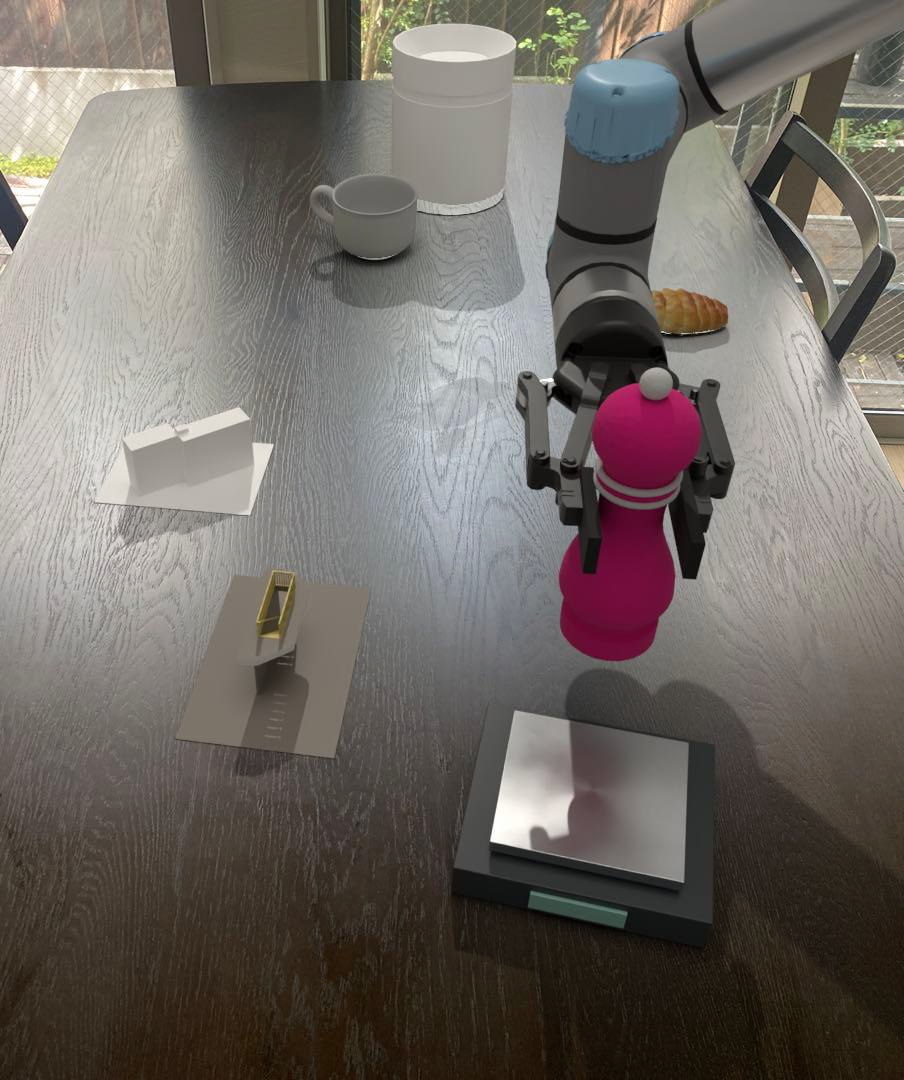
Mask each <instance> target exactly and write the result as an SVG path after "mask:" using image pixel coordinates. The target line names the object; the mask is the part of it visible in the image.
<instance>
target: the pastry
mask: <svg viewBox="0 0 904 1080" xmlns="http://www.w3.org/2000/svg"><path fill="white" fill-rule="evenodd" d="M651 292H652V298H653V302H654V305H655V309H656V313H657V317H658V321H659V325H660V330H661V331H664V332H666V333H674V334H675V335H676V334H677V335H679V334H681V333H693V332H694V333H695V332H703V331H708V330H710V331H711V330H716V329H719V328H721V327H723V326H725V325H726V326H727V325H728V323H729V312H728V311H729V309H728V306H727V305H726V304H724V302H722V301H720V300H718V299H716V298H709V296H708V295H704V294H699V293H697V292H695V291H692V292H689V291H687V290H685V289H684V288H681V287H679V288H678V289H676V290H675V289H672V288H668V287H663V288H662V289H661V290H660V291H659V290H655V289H653V290H651ZM726 326H725V327H726ZM721 329H722V328H721ZM719 330H720V329H719ZM674 334H673V335H674Z"/></svg>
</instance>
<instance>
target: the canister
mask: <svg viewBox="0 0 904 1080" xmlns="http://www.w3.org/2000/svg"><path fill="white" fill-rule="evenodd" d="M517 42H518V41H517V40H516V39H515V38H514V37H513V35H511V34H509V33H508V32H505V31H503V30H500V29H497V28H493V27H490V26H485V25H478V24H471V23H437V24H436V23H435V24H427V25H422V26H415V27H413V28H410V29H407V30H403V31H402V32H400V33H398V34H397V35H396V36H394V38H393V41H392V60H391V61H392V64H391V65H392V66H391V67H392V69H391V71H392V72H391V73H392V74H391V76H392V85H391V161H390V162H391V163H390V164H391V167H390V168H391V170H390V171H391V173H390V175H393V176H397V177H400V178H403V179H405V180H407V181H409V182H410V183H412V184H413V185H414V186H415V187H416V189H417V191H418V199H419V200H424V201H428V202H432V203H438V204H446V205H459V204H470V203H474V202H478V201H482V200H486V199H487V198H490V197H492V196H494V195H496V194H498V193H499V192H500V191H501V189H503V187H504V185H505V186H506V177H507V176H506V175H507V166H508V165H507V163H508V152H509V151H508V150H509V140H510V127H511V115H512V114H511V113H512V101H513V89H514V85H513V83H514V77H515V76H514V75H515V65H516V54H517V53H516V52H517Z"/></svg>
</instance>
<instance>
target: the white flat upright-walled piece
mask: <svg viewBox="0 0 904 1080" xmlns="http://www.w3.org/2000/svg"><path fill="white" fill-rule="evenodd" d="M121 441H122V447H121V449H120V451H119V453H118V455H117V457H116V459H115V461H114V463H113V465H112V467H111V468H110V471H109V473H108V475H107V477H106V478H105V480H104V482H103V485H102V486H101V488H100V490H99V492H98V494H97V496H96V498H95V500H94V503H99V504H100V503H101V504H111V505H123V506H132V507H133V506H134V507H135V506H136V507H146V508H157V509H158V508H159V509H170V510H182V511H193V512H205V513H216V514H228V515H237V516H238V515H239V516H251V514H252V511H253V508H254V505H255V502H256V499H257V496H258V493H259V490H260V488H261V485H262V481H263V478H264V477H265V476H264V475H265V472H266V469H267V467H268V464H269V461H270V457H271V455H272V452H273V448H274V446H275V444H274V443H265V442H253V434H252V424H251V418H250V417H249V416H248V415H247V414H246V413H245V412H244V410H242V408H240V407H239V406H237V407H235V408H231V409H229V410H225V411H222V412H221V413H217V414H214V415H211V416H208V417H204V418H202V419H198V420H196V421H193V422H190V423H182V424H180V425H179V424H178V425H175V426H173V427H172V426H171V425H170V424H169V423H168V422H167V423H164V424H161V425H157V426H154V427H151V428H147V429H145V430H142V431H140V432H129V433H128V435H127V436H124V437H121Z"/></svg>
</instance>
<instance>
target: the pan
mask: <svg viewBox="0 0 904 1080" xmlns="http://www.w3.org/2000/svg"><path fill="white" fill-rule="evenodd" d="M688 756H689V743H687V742H681V741H676V740H671V739H665V738H660V737H654V736H649V735H644V734H638V733H633V732H628V731H622V730H617V729H612V728H606V727H601V726H596V725H590V724H585V723H580V722H574V721H569V720H564V719H558V718H553V717H548V716H542V715H537V714H532V713H526V712H521V711H516V710H515V711H514V715H513V720H512V726H511V731H510V736H509V741H508V747H507V752H506V757H505V763H504V768H503V773H502V778H501V784H500V789H499V794H498V800H497V805H496V810H495V815H494V821H493V826H492V831H491V837H490V842H489V850H490V851H495V852H499V853H504V854H509V855H514V856H518V857H523V858H528V859H532V860H537V861H542V862H547V863H551V864H556V865H561V866H565V867H570V868H575V869H579V870H584V871H589V872H594V873H598V874H603V875H608V876H612V877H617V878H622V879H627V880H631V881H636V882H641V883H645V884H650V885H655V886H659V887H664V888H669V889H674V890H678V891H682V888H683V885H684V879H685V848H686V817H687V786H688Z"/></svg>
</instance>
